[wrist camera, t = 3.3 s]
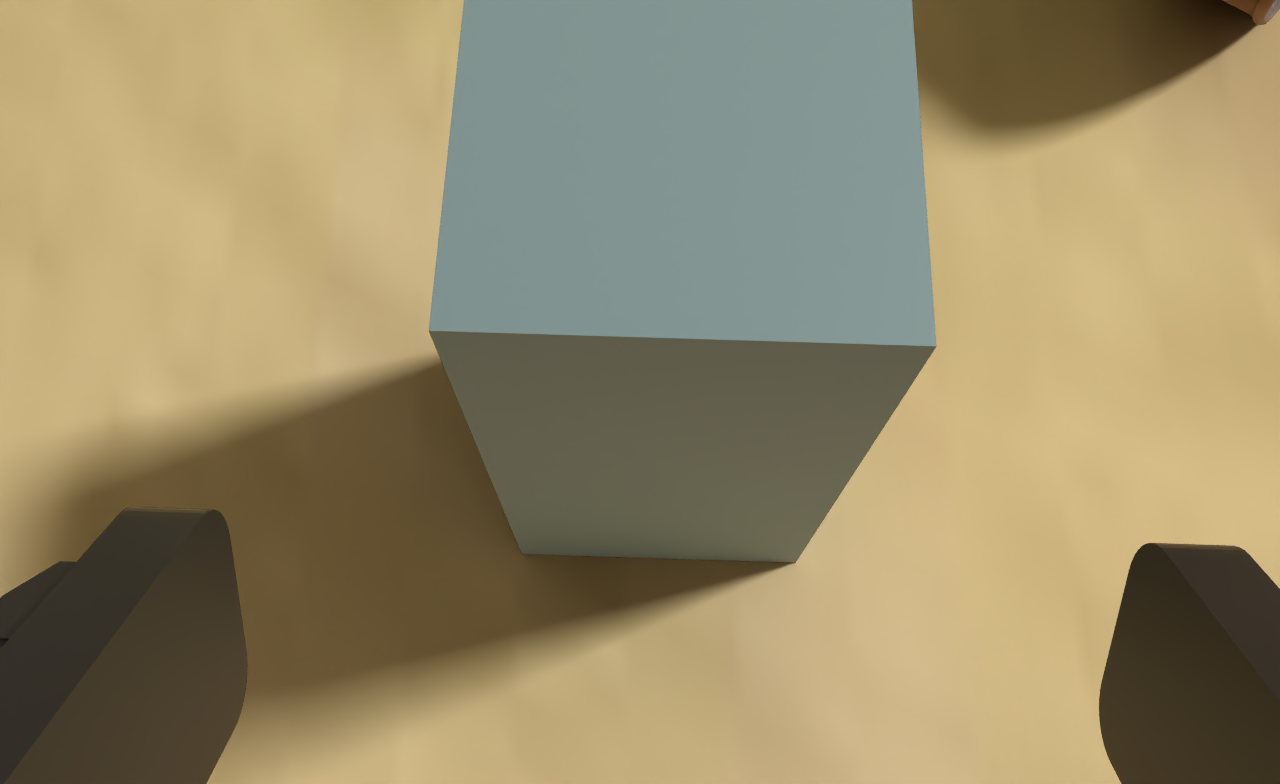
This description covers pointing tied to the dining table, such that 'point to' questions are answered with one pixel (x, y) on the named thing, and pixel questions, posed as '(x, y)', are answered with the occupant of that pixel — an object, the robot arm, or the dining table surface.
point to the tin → (1257, 9)
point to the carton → (681, 264)
